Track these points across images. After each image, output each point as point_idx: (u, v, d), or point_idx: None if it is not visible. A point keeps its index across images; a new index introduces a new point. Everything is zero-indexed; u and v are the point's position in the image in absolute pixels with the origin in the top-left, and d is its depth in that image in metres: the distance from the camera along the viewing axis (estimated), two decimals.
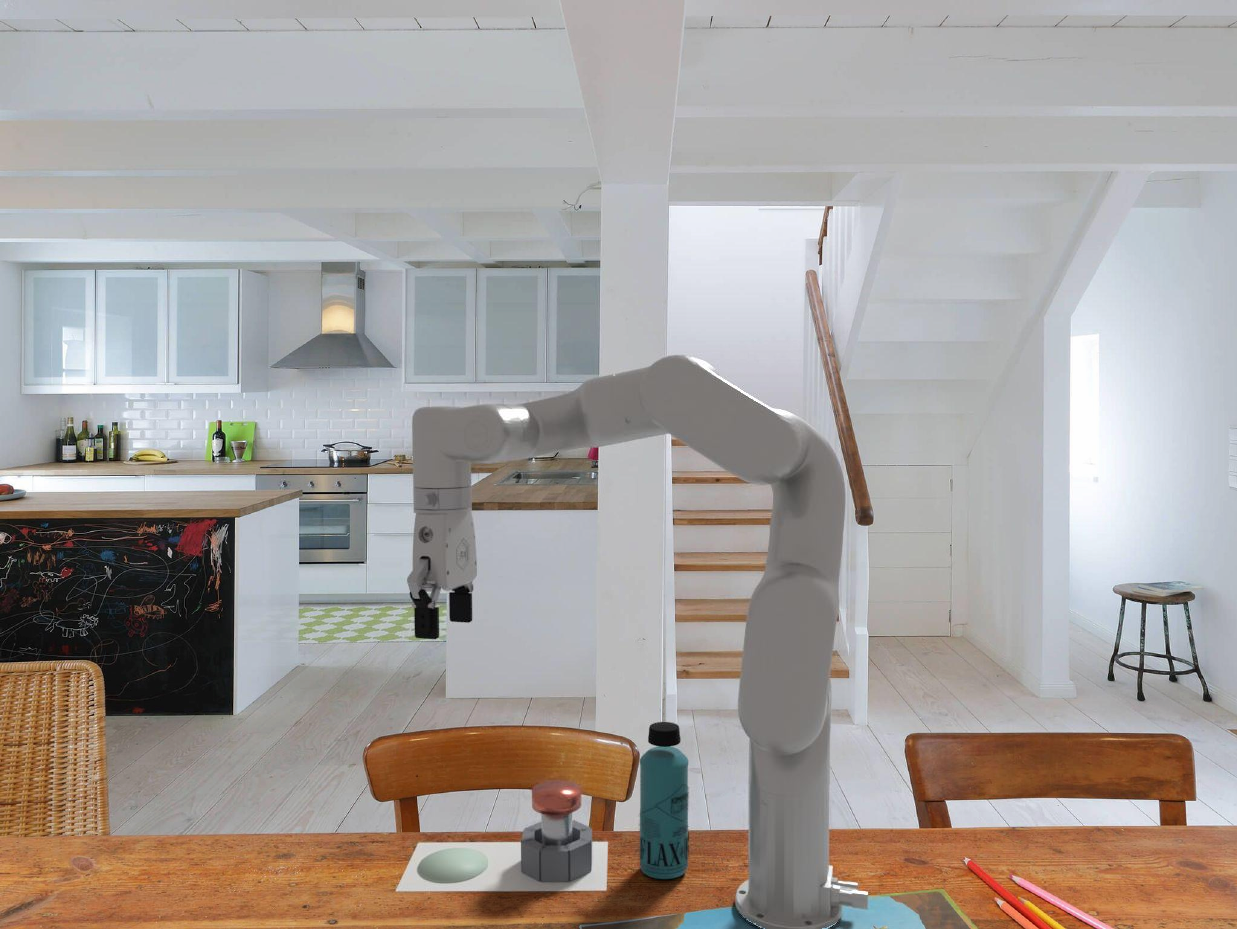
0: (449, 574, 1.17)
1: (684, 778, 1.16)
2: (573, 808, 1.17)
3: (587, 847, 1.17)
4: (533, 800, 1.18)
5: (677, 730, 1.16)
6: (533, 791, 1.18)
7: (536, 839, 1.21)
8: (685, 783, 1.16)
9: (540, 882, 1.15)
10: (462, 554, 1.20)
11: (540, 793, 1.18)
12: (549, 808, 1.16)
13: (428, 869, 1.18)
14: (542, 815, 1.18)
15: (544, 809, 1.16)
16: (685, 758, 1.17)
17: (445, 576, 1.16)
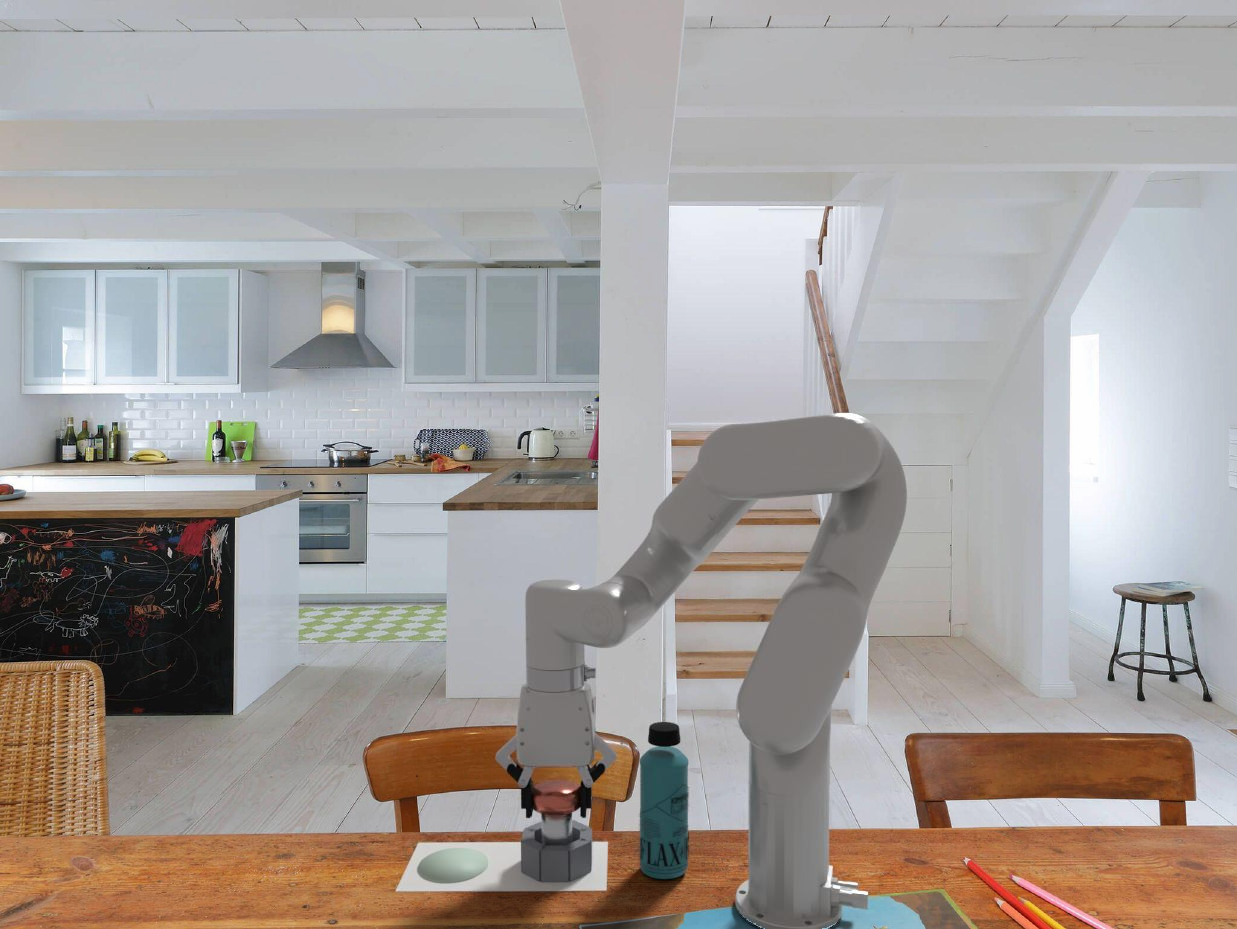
0: None
1: (684, 778, 1.16)
2: (573, 808, 1.17)
3: (587, 847, 1.17)
4: (533, 800, 1.18)
5: (677, 730, 1.16)
6: (533, 791, 1.18)
7: (536, 839, 1.21)
8: (685, 783, 1.16)
9: (540, 882, 1.15)
10: None
11: (540, 793, 1.18)
12: (549, 808, 1.16)
13: (428, 869, 1.18)
14: (542, 815, 1.18)
15: (544, 809, 1.16)
16: (685, 758, 1.17)
17: None
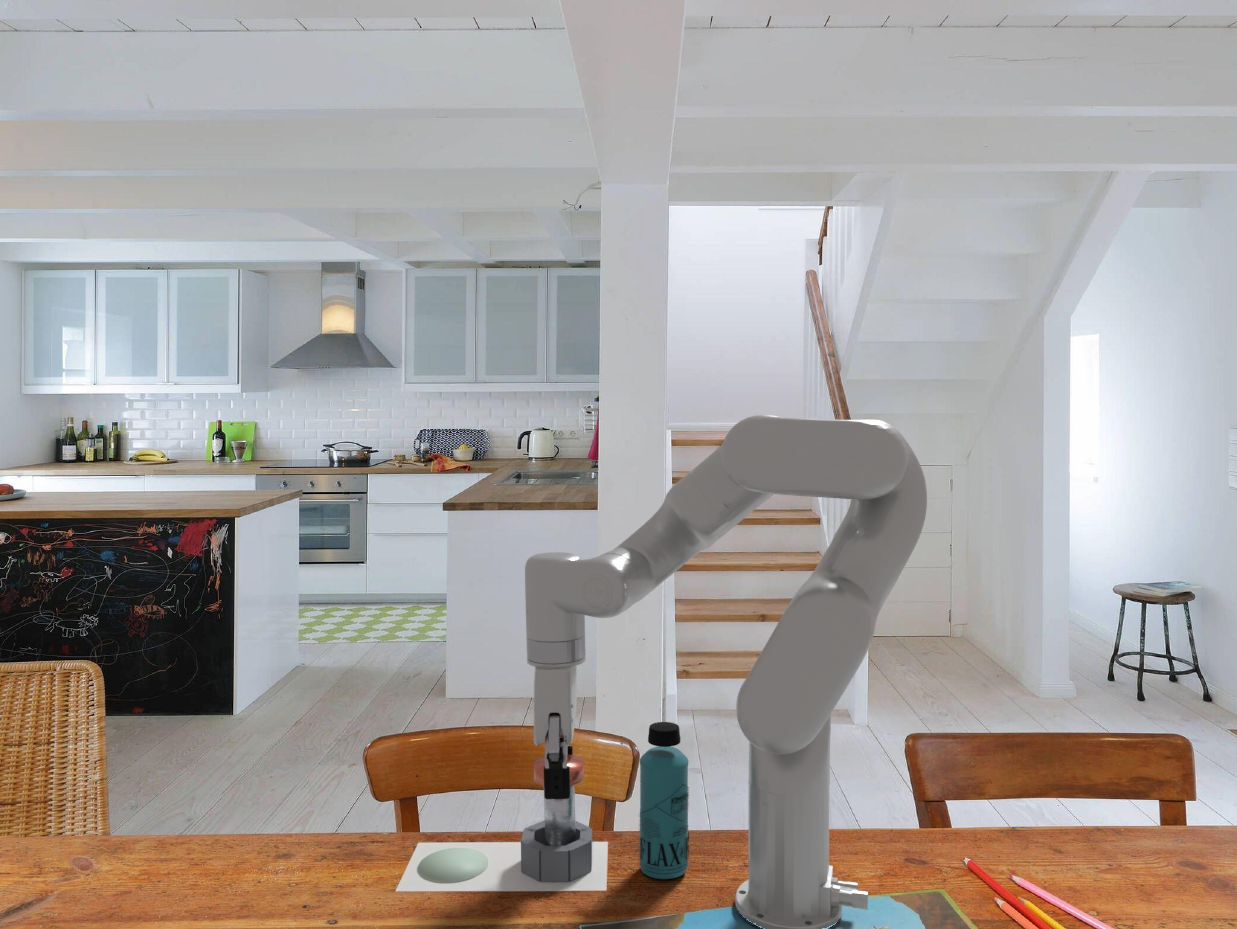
0: None
1: (684, 778, 1.16)
2: None
3: (587, 847, 1.17)
4: None
5: (677, 730, 1.16)
6: None
7: (536, 839, 1.21)
8: (685, 783, 1.16)
9: (540, 882, 1.15)
10: None
11: None
12: (582, 773, 1.18)
13: (428, 869, 1.18)
14: None
15: (580, 776, 1.17)
16: (685, 758, 1.17)
17: None
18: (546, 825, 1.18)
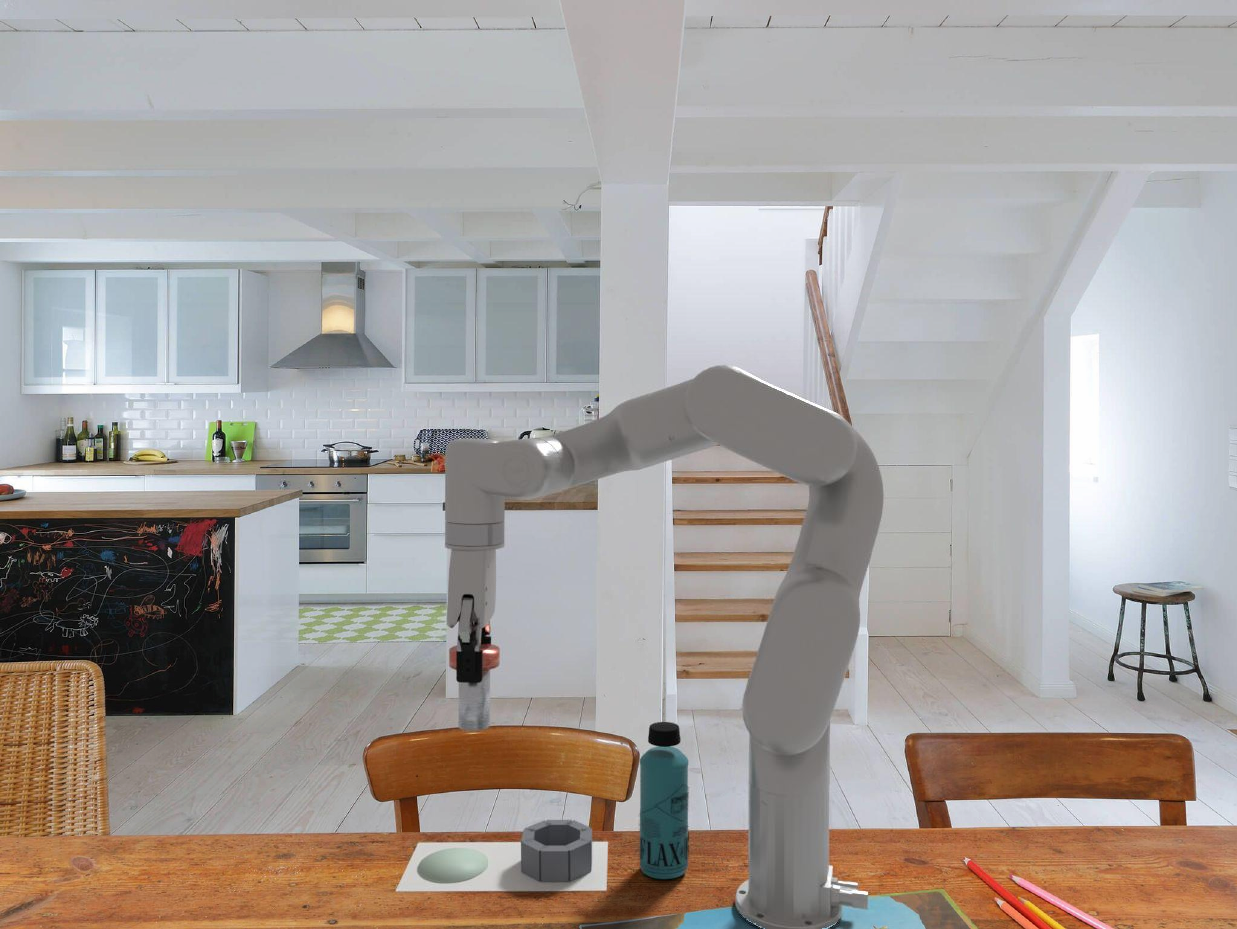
0: None
1: (684, 778, 1.16)
2: None
3: (587, 847, 1.17)
4: None
5: (677, 730, 1.16)
6: None
7: (536, 839, 1.21)
8: (685, 783, 1.16)
9: (540, 882, 1.15)
10: None
11: None
12: (497, 659, 1.17)
13: (428, 869, 1.18)
14: None
15: (495, 662, 1.17)
16: (685, 758, 1.17)
17: None
18: (459, 711, 1.18)
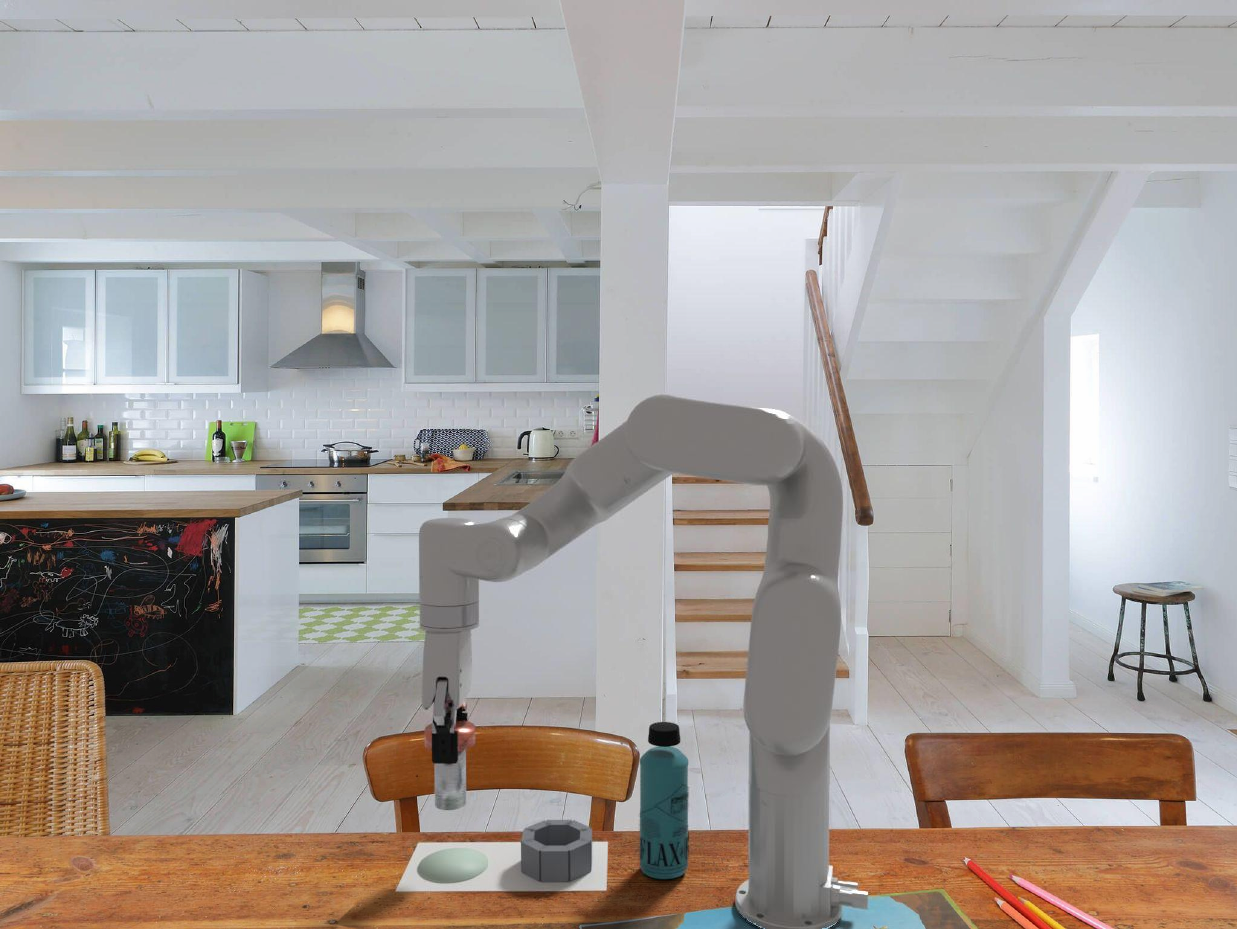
0: None
1: (684, 778, 1.16)
2: None
3: (587, 847, 1.17)
4: None
5: (677, 730, 1.16)
6: None
7: (536, 839, 1.21)
8: (685, 783, 1.16)
9: (540, 882, 1.15)
10: None
11: None
12: (473, 738, 1.18)
13: (428, 869, 1.18)
14: None
15: (470, 741, 1.17)
16: (685, 758, 1.17)
17: None
18: (435, 790, 1.18)
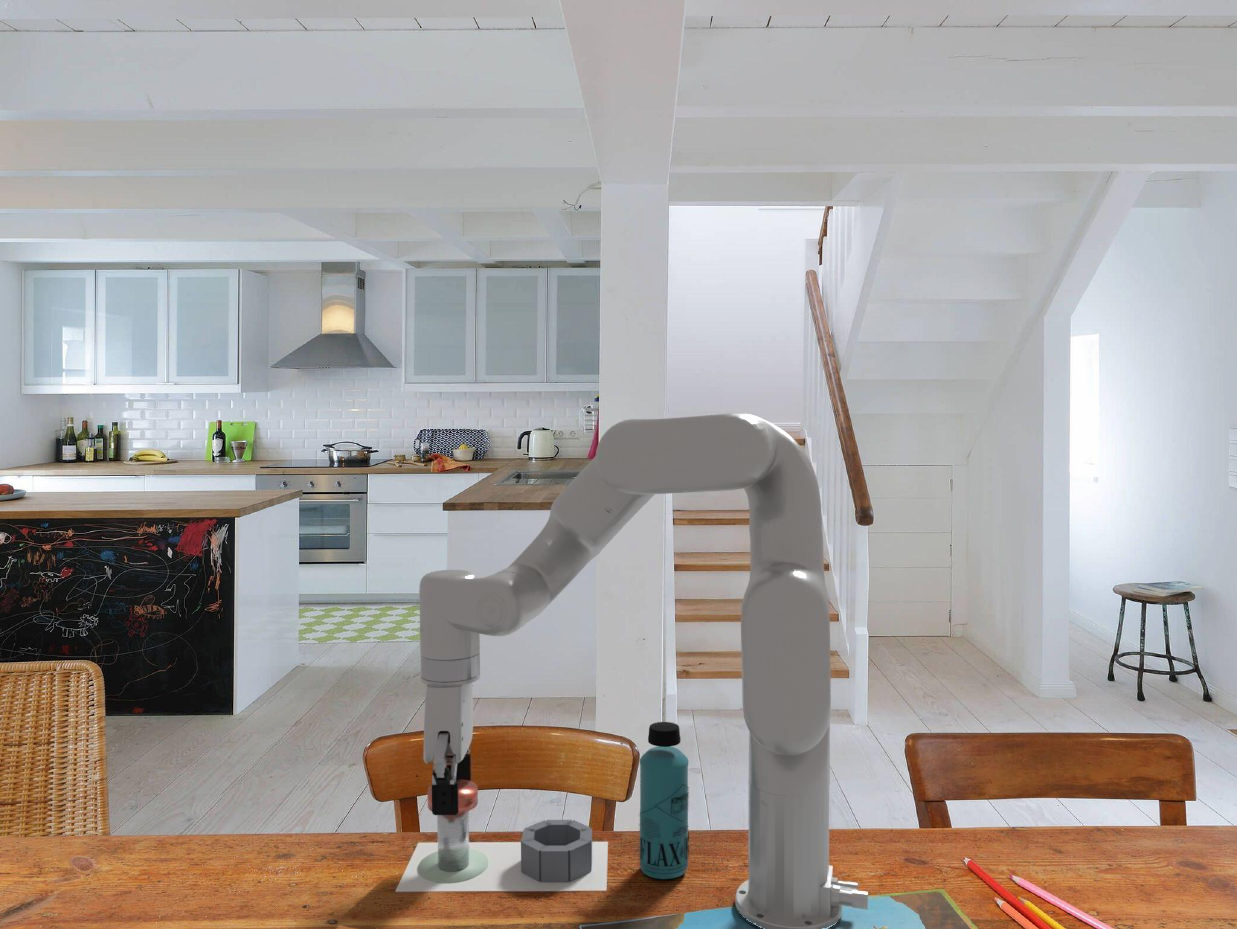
0: None
1: (684, 778, 1.16)
2: None
3: (587, 847, 1.17)
4: (459, 804, 1.16)
5: (677, 730, 1.16)
6: None
7: (536, 839, 1.21)
8: (685, 783, 1.16)
9: (540, 882, 1.15)
10: None
11: (460, 794, 1.17)
12: (475, 799, 1.18)
13: (428, 869, 1.18)
14: (456, 817, 1.17)
15: (473, 803, 1.18)
16: (685, 758, 1.17)
17: None
18: (438, 851, 1.18)
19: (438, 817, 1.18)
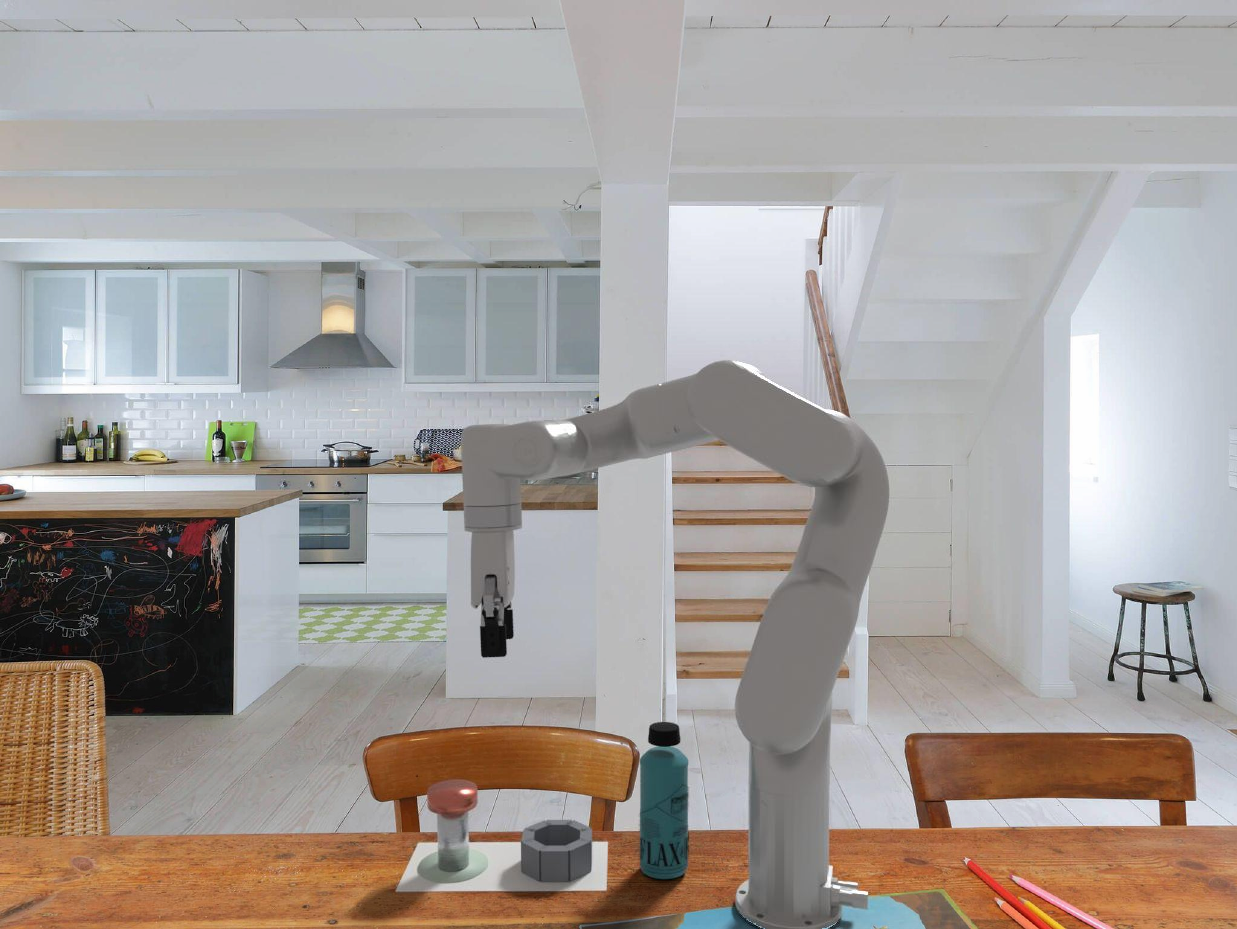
0: None
1: (684, 778, 1.16)
2: None
3: (587, 847, 1.17)
4: (459, 804, 1.16)
5: (677, 730, 1.16)
6: (452, 798, 1.16)
7: (536, 839, 1.21)
8: (685, 783, 1.16)
9: (540, 882, 1.15)
10: None
11: (460, 795, 1.17)
12: (475, 799, 1.18)
13: (428, 869, 1.18)
14: (456, 818, 1.17)
15: (473, 803, 1.18)
16: (685, 758, 1.17)
17: None
18: (438, 851, 1.18)
19: (438, 817, 1.18)
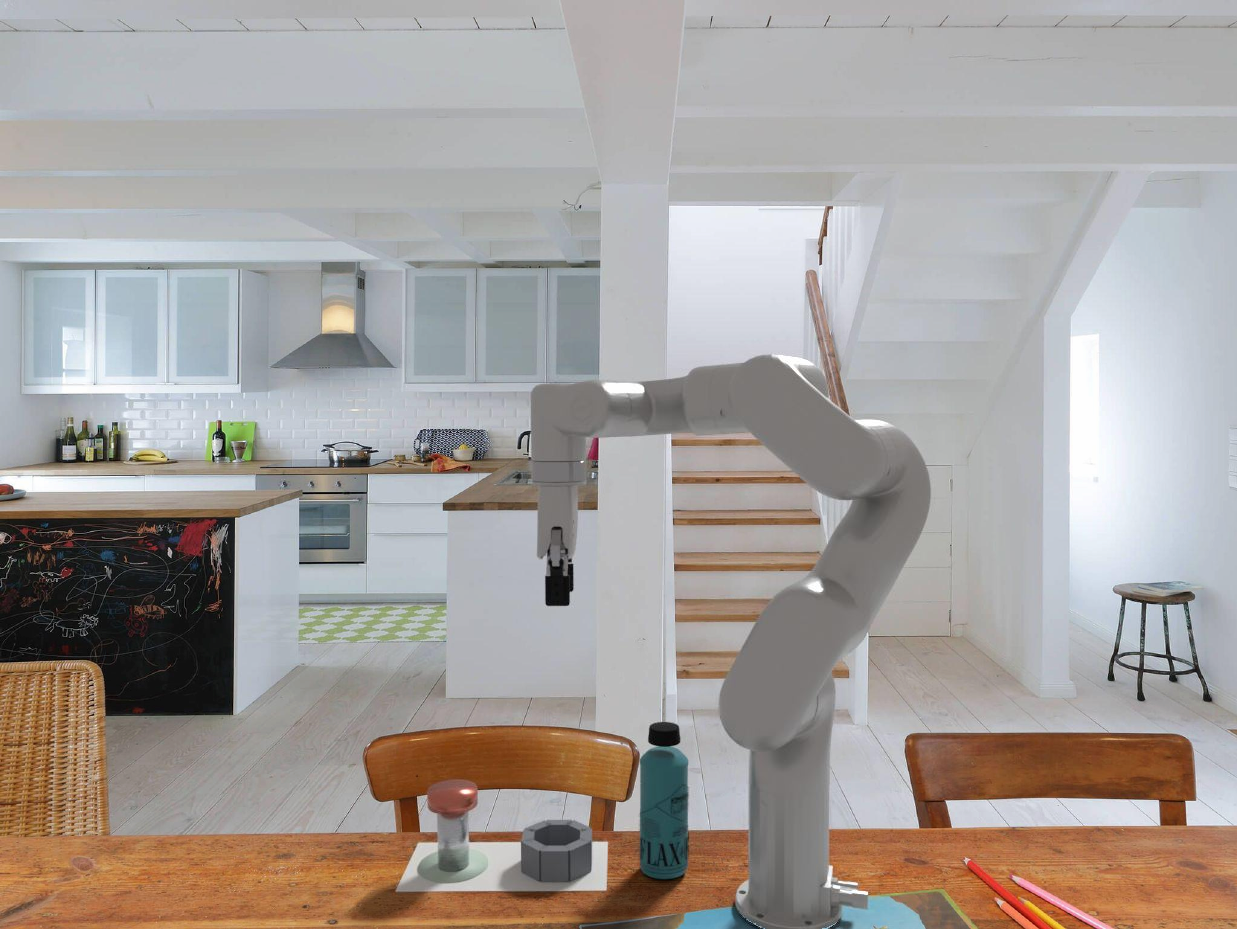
0: None
1: (684, 778, 1.16)
2: None
3: (587, 847, 1.17)
4: (459, 804, 1.16)
5: (677, 730, 1.16)
6: (452, 798, 1.16)
7: (536, 839, 1.21)
8: (685, 783, 1.16)
9: (540, 882, 1.15)
10: None
11: (460, 795, 1.17)
12: (475, 799, 1.18)
13: (428, 869, 1.18)
14: (456, 818, 1.17)
15: (473, 803, 1.18)
16: (685, 758, 1.17)
17: None
18: (438, 851, 1.18)
19: (438, 817, 1.18)
